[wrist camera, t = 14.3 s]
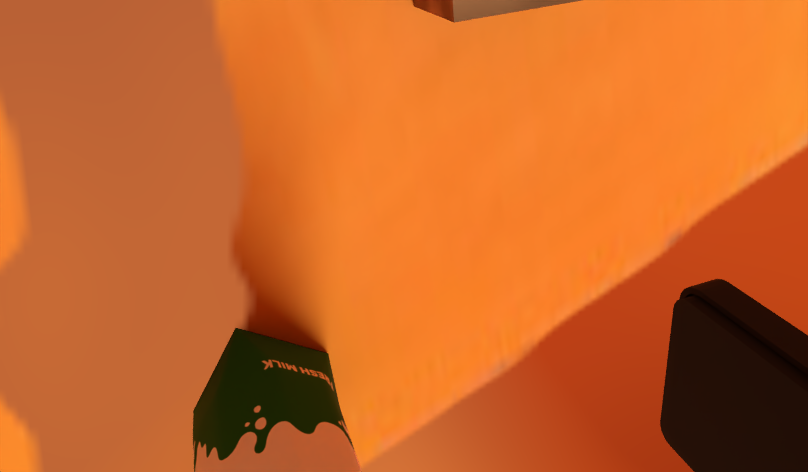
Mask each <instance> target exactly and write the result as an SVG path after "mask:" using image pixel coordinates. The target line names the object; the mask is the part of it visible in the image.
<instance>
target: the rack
mask: <svg viewBox="0 0 808 472" xmlns="http://www.w3.org/2000/svg"><path fill="white" fill-rule="evenodd" d="M575 1H581V0H413V2H414V6H415V7H417V8H420V9H422V10H425V11H427V12H430V13H432V14H435V15H437V16H440V17H442V18H445V19H447V20H450V21H452V22H459V21H465V20H471V19H476V18H482V17H488V16H494V15H500V14H506V13H511V12H517V11H523V10H529V9H535V8H540V7H546V6H552V5H558V4H564V3H570V2H575Z"/></svg>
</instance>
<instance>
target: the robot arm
mask: <svg viewBox="0 0 808 472" xmlns="http://www.w3.org/2000/svg"><path fill="white" fill-rule="evenodd" d="M660 424H661V430H662V433H663V435H664V437H665V439H666V441H667V442H668V444H669V445H670V446H671V447H672V448H673V449H674V450H675V451H676V453H677V454H678V455H679V456H680V457H681V458H682V459H683V460H684V461H685V462H686V463H687V464H688V465H689V466H690V468H691V469H692V470H693V471H694V472H808V335H806V334H805V333H803V332H802V331H800V330H799V329H797V328H796V327H794V326H793V325H791V324H790V323H788V322H787V321H785V320H784V319H782V318H781V317H779V316H778V315H776V314H775V313H773V312H772V311H770V310H769V309H767V308H766V307H764V306H763V305H761V304H760V303H759V302H757V301H756V300H754V299H753V298H751V297H749V296H748V295H746V294H745V293H744V292H742V291H741V290H739V289H738V288H736V287H735V286H733V285H732V284H730V283H729V282H727V281H725V280H722V279H715V280H711V281H708V282H705V283H701V284H698V285H694V286H691V287H688V288H686V289H684V290H683V291H682V293H681V295H680V299H679V300H677V302H676V303H675V305H674V308H673V318H672V326H671V334H670V343H669V351H668V360H667V369H666V377H665V386H664V395H663V404H662V412H661V420H660Z"/></svg>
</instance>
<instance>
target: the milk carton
mask: <svg viewBox="0 0 808 472" xmlns="http://www.w3.org/2000/svg"><path fill="white" fill-rule="evenodd" d="M193 413H194V418H193V450H194V472H362V471H361V468H360V465H359V462H358V460H357V457H356V454H355V451H354V448H353V445H352V442H351V439H350V436H349V433H348V430H347V427H346V424H345V421H344V418H343V416H342V412H341V409H340V406H339V402H338V397H337V393H336V388H335V383H334V379H333V374H332V370H331V365H330V360H329V356H328V353H324V352H321V351H317V350H314V349H310V348H306V347H303V346H299V345H296V344H292V343H288V342H285V341H281V340H278V339H274V338H270V337H267V336H263V335H260V334H256V333H252V332H249V331H245V330H242V329H238V328H235V330H234V332H233V334H232V336H231V338H230V340H229V342H228V344H227V346H226V348H225V350H224V352H223V354H222V356H221V358H220V360H219V362H218V364H217V366H216V368H215V370H214V371H213V373H212V375H211V378H210V380H209V381H208V383H207V386H206V387H205V389H204V391H203V393H202V395H201V397H200V399H199V401H198V403H197V405H196V407H195V409H194V411H193Z"/></svg>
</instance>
